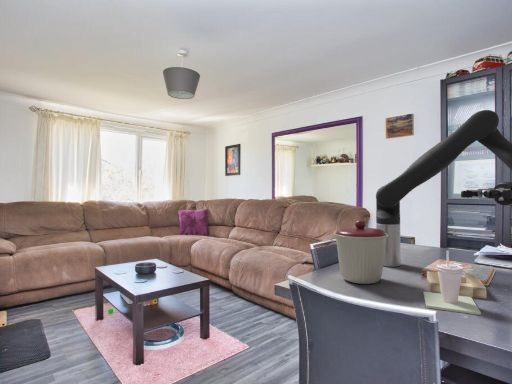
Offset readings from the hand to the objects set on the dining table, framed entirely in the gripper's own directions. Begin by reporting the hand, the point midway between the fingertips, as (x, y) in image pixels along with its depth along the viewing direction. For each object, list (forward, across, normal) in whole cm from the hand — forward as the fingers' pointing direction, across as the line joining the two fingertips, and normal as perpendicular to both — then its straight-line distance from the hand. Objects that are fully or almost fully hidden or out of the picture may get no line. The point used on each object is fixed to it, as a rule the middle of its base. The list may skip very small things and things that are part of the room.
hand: (474, 194), depth 94 cm
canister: (+27, -20, +30) cm, 45 cm away
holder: (+4, -4, +30) cm, 30 cm away
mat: (+16, +6, +30) cm, 34 cm away
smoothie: (+16, +6, +30) cm, 34 cm away
